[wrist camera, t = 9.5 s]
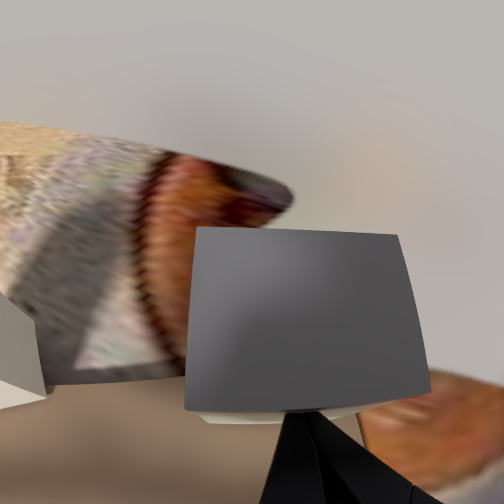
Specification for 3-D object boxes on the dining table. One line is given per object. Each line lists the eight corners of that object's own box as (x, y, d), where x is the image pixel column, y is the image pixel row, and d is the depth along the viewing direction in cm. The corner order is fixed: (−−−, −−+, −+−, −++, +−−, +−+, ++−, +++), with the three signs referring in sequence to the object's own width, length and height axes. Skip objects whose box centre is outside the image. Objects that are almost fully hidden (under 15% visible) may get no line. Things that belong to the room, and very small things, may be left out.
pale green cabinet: (330, 420, 12) (431, 391, 6) (202, 424, 12) (173, 407, 5) (323, 332, 14) (397, 234, 8) (205, 331, 14) (188, 226, 8)
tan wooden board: (378, 546, 9) (387, 551, 8) (15, 565, 6) (6, 568, 5) (330, 352, 15) (336, 347, 14) (-17, 386, 12) (-27, 382, 11)
